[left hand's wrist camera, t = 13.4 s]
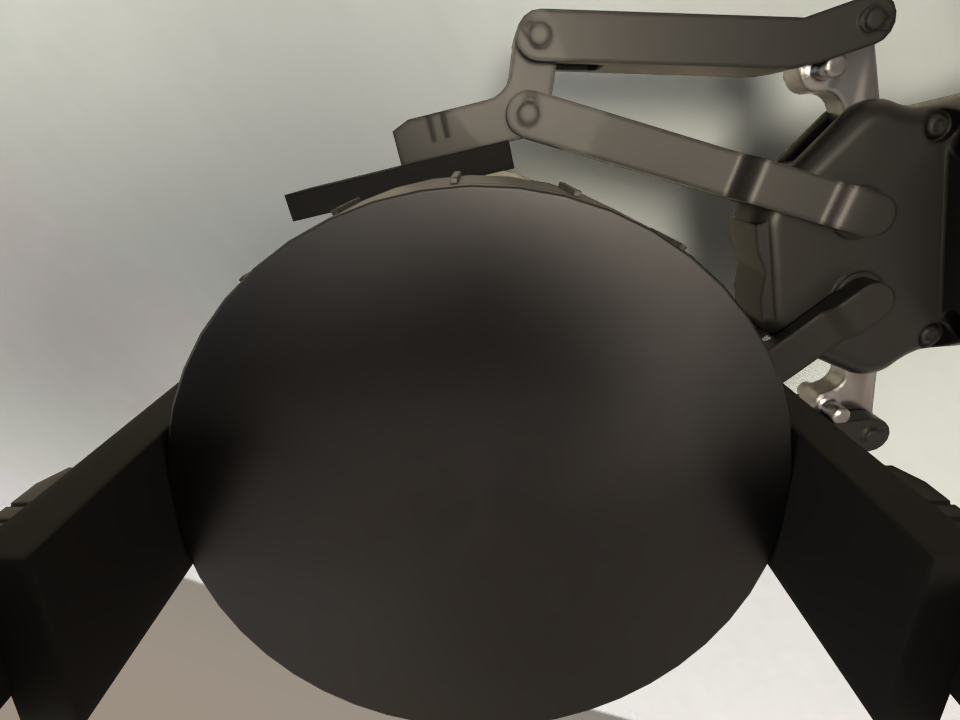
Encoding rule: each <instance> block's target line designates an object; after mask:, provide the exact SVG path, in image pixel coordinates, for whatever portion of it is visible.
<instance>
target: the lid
mask: <svg viewBox="0 0 960 720" xmlns="http://www.w3.org/2000/svg"><path fill="white" fill-rule="evenodd" d="M331 212H332V214H333V216H332V217H330V218H328V219H326V220H324V221H323V222H321V223H319V224H317V225H316V226H314V227H312V228H310V229H309V230H307V231H305V232H303V233H302V234H300V235H298V236H296V237H295V238H293V239H291V240H289V241H288V242H287V243H285V244H284V245H283V246H281V247H280V248H279V249H278V250H276V251H275V252H274V253H272V254H271V255H270V256H269V257H267V258H266V259H265V260H263V261H262V262H261V263H260V264H258V265H257V266H256V267H254V268H253V269H252V270H251V271H250V272H249V273H247V274H245V275H243V276H242V277H241V278H240V279H239V281H240V283H239V284H238V285H237V286H236V287H235V288H234V289H233V290H232V291H231V293H230V294H229V295H228V296H227V297H226V298H225V299H224V300H223V302H222V303H221V304H220V306H219V307H218V309H217V310H216V312H215V313H214V315H213V316H212V317H211V319H210V320H209V322H208V323H207V325H206V326H205V328H204V329H203V330H202V332H201V333H200V335H199V337H198V340H197V342H196V344H195V346H194V348H193V350H192V352H191V354H190V356H189V358H188V360H187V362H186V364H185V366H184V368H183V372H182V375H181V378H180V382H179V385H178V388H177V392H176V395H175V398H174V401H173V405H172V412H171V419H170V426H169V434H168V441H167V456H168V480H169V485H170V489H171V494H172V499H173V504H174V509H175V514H176V518H177V522H178V526H179V531H180V534H181V537H182V540H183V543H184V546H185V548H186V550H187V552H188V554H189V556H190V558H191V560H192V562H193V564H194V566H195V568H196V570H197V573H198V575H199V577H200V578H201V580H202V581H203V583H204V584H205V586H206V587H207V589H208V590H209V592H210V593H211V595H212V596H213V598H214V599H215V601H216V602H217V604H218V605H219V606H220V608H221V609H222V610H223V611H224V612H225V613H226V615H227V616H228V617H229V618H230V619H231V620H232V621H233V623H234V624H235V625H236V626H237V627H238V628H239V630H240V631H241V632H242V633H243V634H245V635H246V636H247V637H248V638H249V639H250V640H251V641H252V642H253V643H254V644H256V645H257V646H258V647H259V648H260V649H261V650H262V651H263V652H264V653H265V654H267V655H268V656H269V657H271V658H272V659H274V660H275V661H276V662H278V663H279V664H281V665H282V666H283V667H285V668H286V669H288V670H289V671H290V672H292V673H293V674H295V675H297V676H298V677H300V678H302V679H303V680H305V681H307V682H309V683H310V684H312V685H314V686H316V687H318V688H319V689H321V690H323V691H325V692H327V693H330V694H332V695H334V696H336V697H339V698H341V699H343V700H346V701H348V702H350V703H353V704H355V705H358V706H361V707H364V708H367V709H370V710H373V711H377V712H380V713H383V714H386V715H390V716H395V717H399V718H404V719H408V720H553V719H558V718H561V717H565V716H569V715H573V714H576V713H580V712H584V711H588V710H590V709H593V708H596V707H599V706H601V705H604V704H607V703H609V702H612V701H615V700H617V699H620V698H622V697H624V696H626V695H628V694H630V693H632V692H634V691H636V690H638V689H640V688H642V687H644V686H646V685H648V684H650V683H652V682H653V681H655V680H657V679H658V678H660V677H661V676H663V675H664V674H666V673H668V672H669V671H671V670H672V669H674V668H676V667H677V666H679V665H680V664H681V663H682V662H684V661H685V660H686V659H687V658H689V657H690V656H691V655H692V654H694V653H695V652H696V651H697V650H699V649H700V648H701V647H702V646H704V645H705V644H706V643H707V642H708V641H709V640H710V639H711V638H712V637H713V636H714V635H715V634H716V633H717V632H718V631H719V630H720V629H721V628H722V627H723V626H724V625H725V624H726V623H727V622H728V621H729V620H730V619H731V617H732V616H733V615H734V613H735V612H736V611H737V609H738V608H739V607H740V606H741V604H742V603H743V602H744V600H745V599H746V598H747V597H748V595H749V594H750V593H751V591H752V589H753V587H754V586H755V584H756V582H757V581H758V579H759V577H760V575H761V574H762V572H763V570H764V569H765V567H766V565H767V563H768V561H769V559H770V556H771V554H772V551H773V549H774V547H775V544H776V542H777V539H778V537H779V535H780V532H781V528H782V523H783V519H784V514H785V510H786V505H787V501H788V496H789V491H790V485H791V477H792V467H793V453H792V433H791V423H790V418H789V413H788V408H787V404H786V399H785V394H784V389H783V386H782V384H781V381H780V379H779V376H778V373H777V371H776V368H775V365H774V363H773V360H772V358H771V355H770V352H769V351H768V349H767V347H766V345H765V344H764V342H763V340H762V338H761V337H760V335H759V333H758V331H757V330H756V328H755V326H754V324H753V323H752V321H751V319H750V318H749V316H748V315H747V314H746V313H745V311H744V310H743V309H742V308H741V306H740V305H739V304H738V303H737V301H736V300H735V299H734V298H733V296H732V295H731V294H730V293H729V291H728V290H727V289H726V288H725V286H724V285H723V284H722V283H721V282H720V281H719V280H718V279H716V278H715V277H714V276H713V275H712V274H711V273H710V272H709V271H708V270H707V269H706V268H704V267H703V266H702V265H701V264H700V263H699V262H698V261H697V260H696V259H695V258H694V257H693V256H691V255H690V254H689V253H687V252H686V251H685V249H686V248H687V247H686V246H685V245H683V244H682V243H680V242H678V241H676V240H674V239H672V238H670V237H668V236H666V235H664V234H662V233H660V232H659V231H657V230H655V229H653V228H649V227H647V226H645V225H643V224H641V223H639V222H638V221H636V220H634V219H632V218H630V217H628V216H626V215H624V214H622V213H620V212H618V211H616V210H614V209H612V208H610V207H608V206H606V205H604V204H602V203H600V202H598V201H596V200H594V199H592V198H590V197H588V196H585V195H583V194H581V191H579V190H577V189H575V188H573V187H571V186H569V185H568V184H566V183H563V182H559V186H555V185H552V184H549V183H544V182H538V181H533V180H527V179H521V178H516V177H510V176H483V175H467V176H461V171H455V172H454V173H453V175H452V176H451V177H447V178H437V179H430V180H426V181H422V182H418V183H414V184H409V185H405V186H401V187H397V188H394V189H391V190H389V191H386V192H384V193H381V194H379V195H376V196H373V197H371V198H368V199H366V200H363V201H361V199H360V197H358V198H356V199H354V200H352V201H350V202H348V203H345V204H343V205H341V206H339V207H337V208H335V209H333V210H331Z"/></svg>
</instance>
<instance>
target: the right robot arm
mask: <svg viewBox="0 0 960 720" xmlns="http://www.w3.org/2000/svg"><path fill="white" fill-rule="evenodd" d="M895 19H896V8H895V5H894V2H893V1H892V0H853V1H850V2H847V3H845V4H842V5H839V6H836V7H833V8H830V9H828V10H825V11H822V12H819V13H816V14H814V15H811V16H808V17H805V18H800V17H771V16H741V15H711V14H682V13H652V12H623V11H593V10H563V9H537V10H532V11H530V12H529V13H528V14H526V15H525V16H524V17H523V18H522V20H521V22H520V23H519V25H518V28H517V31H516V34H515V37H514V40H513V44H512V54H511V61H510V69H509V77H508V82H507V85H506V87H505V88H504V90H503V91H502V92H501V93H500V94H499V95H497V96H496V97H494V98H492V99H489V100H485V101H481V102H477V103H473V104H469V105H466V106H462V107H458V108H454V109H450V110H446V111H442V112H438V113H434V114H430V115H426V116H422V117H418V118H414V119H410V120H407V121H406V122H405V123H403V124H402V125H401V126H399V127H398V128H397V129H396V130H394V131H393V134H394V138H395V142H396V146H397V149H398V153H399V157H400V161H401V166H397V167H393V168H389V169H385V170H381V171H377V172H373V173H369V174H365V175H361V176H356V177H352V178H348V179H344V180H340V181H336V182H332V183H328V184H324V185H320V186H316V187H311V188H308V189H304V190H301V191H297V192H294V193H290V194H287V195H285V198H286V201H287V204H288V207H289V210H290V213H291V216H292V219H293V221H297V220H301V219H306V218H310V217H314V216H318V215H322V214H326V213H331V210H333V209H335V208H337V207H339V206H341V205H343V204H345V203H348V202H350V201H352V200H354V199H356V198H358V197H360V199H361V201H363V200H366V199H368V198H371V197H373V196H376V195H379V194H381V193H384V192H386V191H389V190H391V189H394V188H397V187H401V186H405V185H409V184H414V183H418V182H422V181H426V180H430V179H437V178H447V177H451V176H452V175H453V173H454V172H455V171H461V176H467V175H483V176H484V175H488V174H493V173H497V172H501V171H505V170H509V169H513V168H514V164H513V159H512V154H511V149H510V144H509V142H510V141H514V140H518V139H522V138H524V139H527V140H530V141H534V142H537V143H541V144H544V145H547V146H551V147H554V148H557V149H561V150H564V151H568V152H571V153H574V154H578V155H581V156H584V157H588V158H591V159H595V160H598V161H601V162H605V163H608V164H611V165H615V166H618V167H622V168H625V169H628V170H632V171H635V172H638V173H642V174H645V175H649V176H652V177H655V178H659V179H662V180H665V181H669V182H672V183H676V184H679V185H682V186H686V187H689V188H692V189H696V190H699V191H702V192H705V193H708V194H712V195H715V196H718V197H722V198H725V199H728V200H732V201H735V202H739V204H738V207H737V210H736V214H735V215H734V216H730V217H729V227H730V239H731V242H732V245H733V247H734V250H735V253H736V255H737V258H738V268H737V273H736V279H735V284H734V288H735V300H736V301H737V303H738V304H739V305H740V306H741V308H742V309H743V310H744V311H745V313H746V314H747V315H748V316H749V318H750V319H751V321H752V323H753V324H754V326H755V328H756V330H757V331H758V333H759V335H760V337H761V338H763V337H764V336H766V335H768V336H769V337H771V339H769V340H768V341H763V342H764V344H765V345H766V347H767V349H768V351H769V352H770V355H771V358H772V360H773V363H774V365H775V368H776V371H777V373H778V376H779V379H780V381H781V382H782V383H783V382H785V381H786V380H788V379H789V378H791V377H792V376H794V375H795V374H796V373H798V372H799V371H801V370H802V369H803V368H805V367H806V366H808V365H809V364H811V363H812V362H813V361H815V360H816V359H820V360H822V361H825V362H827V363H829V364H831V368H830V370H829V372H828V373H827V374H826V375H825V376H824V377H823V378H821V379H820V380H818V381H815V382H812V383H811V382H808V381H807V382H803V383H801V384H800V385H799V386H798V388H797V393H798V394H797V395H798V396H799V397H800V398H802V399H803V400H804V401H805V402H807V403H808V404H809V405H810V406H812V407H813V408H814V409H815V410H817V411H818V412H819V413H820V414H822V415H823V416H824V417H825V418H827V419H828V420H829V421H830V422H831V423H833V424H834V425H835V426H836V427H838V428H839V429H840V430H841V431H843V432H844V433H845V434H846V435H848V436H849V437H850V438H851V439H853V440H854V441H855V442H856V443H858V444H859V445H860V446H861V447H862V448H864V449H865V450H866V451H871V450H875V449H877V448H879V447H880V446H882V445H883V444H884V443H885V442H886V440H887V439H888V436H889V427H888V425H887V424H886V423H885V422H884V421H883V420H881V419H880V418H878V417H877V416H876V415H874V414H873V413H872V407H873V398H874V389H875V380H876V372H877V371H880V370H882V369H884V368H886V367H888V366H889V365H891V364H892V363H894V362H895V361H896V360H898V359H899V358H901V357H903V356H904V355H906V354H908V353H910V352H913V351H915V350H918V349H922V348H929V347H941V346H953V345H960V93H959V94H955V95H951V96H947V97H943V98H938V99H934V100H930V101H926V102H922V103H917V104H913V105H909V106H905V105H900V104H897V103H894V102H892V101H889V100H885V99H879V91H878V79H877V67H876V56H875V44H876V43H878V42H880V41H881V40H883V39H884V38H885V37H886V36H887V35H888V34H889V33H890V32H891V30H892V27H893V25H894V23H895ZM555 71H565V72H595V73H626V74H657V75H687V76H718V77H756V76H762V75H768V74H773V73H778V72H782V71H783V73H784V74H783V79H784V82H785V83H786V86H787V87H788V89H789V90H790V91H792V92H793V93H795V94H799V95H800V94H813V95H817V96H818V97H820V98H821V99H822V100H823V102H824V103H825V106H826V110H827V111H826V112H824V113H823V114H822V115H821V116H820V117H819V118H818V119H817V120H816V121H815V122H814V123H813V124H812V125H811V126H810V127H809V128H808V129H807V130H806V131H805V132H804V133H803V134H802V135H801V136H800V137H799V138H798V139H797V140H796V141H795V142H794V143H793V144H792V145H791V146H790V147H789V148H788V149H787V150H786V151H785V152H784V153H783V154H782V155H781V156H780V157H779V158H778V159H777V160H776V161H772V160H768V159H764V158H760V157H756V156H751V155H746V154H743V153H739V152H736V151H733V150H729V149H726V148H723V147H719V146H716V145H713V144H710V143H706V142H703V141H700V140H696V139H693V138H690V137H687V136H683V135H680V134H677V133H673V132H670V131H667V130H664V129H660V128H657V127H654V126H651V125H647V124H644V123H641V122H637V121H634V120H631V119H628V118H624V117H621V116H618V115H614V114H611V113H608V112H605V111H601V110H598V109H595V108H591V107H588V106H585V105H582V104H578V103H575V102H572V101H568V100H565V99H562V98H559V97H555V96H552V95H551V94H552V88H553V81H554V75H555Z"/></svg>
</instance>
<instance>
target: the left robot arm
mask: <svg viewBox="0 0 960 720" xmlns="http://www.w3.org/2000/svg"><path fill="white" fill-rule="evenodd" d="M781 384H782V386H783V389H784V394H785V399H786V404H787V408H788V413H789V418H790V423H791V433H792V453H793V467H792V477H791V485H790V491H789V496H788V501H787V505H786V510H785V514H784V519H783V523H782V528H781V532H780V535H779V537H778V539H777V542H776V544H775V547H774V549H773V551H772V554H771V556H770V559H769V561H768V563H767V564H768V565H769V567H770V568H771V570H772V571H773V573H774V574H775V576H776V577H777V579H778V580H779V581H780V583H781V584H782V586H783V587H784V589H785V590H786V592H787V593H788V595H789V596H790V598H791V599H792V601H793V602H794V604H795V605H796V607H797V608H798V610H799V611H800V613H801V614H802V615H803V617H804V618H805V620H806V621H807V623H808V624H809V626H810V627H811V629H812V630H813V632H814V633H815V635H816V636H817V638H818V639H819V641H820V642H821V644H822V645H823V647H824V648H825V649H826V651H827V652H828V654H829V655H830V657H831V658H832V660H833V661H834V663H835V664H836V666H837V667H838V669H839V670H840V672H841V673H842V675H843V676H844V678H845V679H846V681H847V682H848V684H849V685H850V686H851V688H852V689H853V691H854V692H855V694H856V695H857V697H858V698H859V700H860V701H861V703H862V704H863V706H864V707H865V709H866V710H867V712H868V713H869V715H870V716H871V718H872V719H873V720H940V718H941V716H942V713H943V711H944V708H945V705H946V703H947V700H948V697H949V695H950V694H951V695H952V696H953V698H954V699H955V700H956V701H957V702H958V703H959V705H960V508H959V507H957V506H956V505H951V504H950V500H948V499H947V498H946V497H944V496H943V495H942V494H940V493H939V492H938V491H937V490H935V489H934V488H933V487H931V486H930V485H929V484H927V483H926V482H925V481H923V480H921V479H919V478H917V477H914V476H912V475H910V474H908V473H906V472H904V471H902V470H900V469H898V468H896V467H894V466H885V465H884V464H882V463H881V462H880V461H879V460H877V459H876V458H875V457H874V456H872V455H871V454H870V453H869V452H867V451H866V450H865V449H864V448H862V447H861V446H860V445H859V444H858V443H856V442H855V441H854V440H853V439H851V438H850V437H849V436H848V435H846V434H845V433H844V432H843V431H841V430H840V429H839V428H838V427H836V426H835V425H834V424H833V423H831V422H830V421H829V420H828V419H827V418H825V417H824V416H823V415H822V414H820V413H819V412H818V411H817V410H815V409H814V408H813V407H812V406H810V405H809V404H808V403H807V402H805V401H804V400H803V399H802V398H800V397H799V396H798V395H797V394H796V393H794V392H793V391H792V390H791V389H789V388H788V387H787V386H786V385H784V384H783V383H782V382H781ZM178 385H179V382H178V383H177V384H176V385H175V386H174V387H172V388H171V389H170V390H169V391H167V392H166V393H165V394H164V395H162V396H161V397H160V398H159V399H157V400H156V401H155V402H154V403H152V404H151V405H150V406H149V407H147V408H146V409H145V410H144V411H143V412H141V413H140V414H139V415H138V416H136V417H135V418H134V419H133V420H131V421H130V422H129V423H128V424H126V425H125V426H124V427H123V428H121V429H120V430H119V431H118V432H117V433H115V434H114V435H113V436H112V437H110V438H109V439H108V440H107V441H105V442H104V443H103V444H102V445H100V446H99V447H98V448H97V449H95V450H94V451H93V452H92V453H90V454H89V455H88V456H87V457H86V458H84V459H83V460H82V461H81V462H79V463H78V464H77V465H76V466H74V467H73V468H67V469H65V470H63V471H61V472H59V473H57V474H55V475H53V476H51V477H49V478H47V479H45V480H43V481H41V482H39V483H37V484H35V485H34V486H33V487H31V488H30V489H29V490H27V491H26V492H25V493H24V494H22V495H21V496H20V497H18V498H17V499H16V500H15V501H13V502H12V503H11V507H5V508H4V509H3V510H2V511H0V708H1V707H2V706H3V705H4V704H5V702H6V701H7V700H8V699H9V698H10V697H11V696H12V699H13V701H14V704H15V707H16V709H17V712H18V715H19V717H20V720H88V718H89V717H90V715H91V714H92V712H93V711H94V709H95V708H96V706H97V705H98V703H99V702H100V700H101V699H102V697H103V696H104V694H105V693H106V691H107V690H108V688H109V687H110V685H111V684H112V683H113V681H114V680H115V678H116V677H117V675H118V674H119V672H120V671H121V669H122V668H123V666H124V665H125V663H126V662H127V660H128V659H129V657H130V656H131V654H132V653H133V652H134V650H135V649H136V647H137V646H138V644H139V643H140V641H141V640H142V638H143V637H144V635H145V634H146V632H147V631H148V629H149V628H150V626H151V625H152V623H153V622H154V620H155V619H156V618H157V616H158V615H159V613H160V612H161V610H162V609H163V607H164V606H165V604H166V603H167V601H168V600H169V598H170V597H171V595H172V594H173V592H174V591H175V589H176V588H177V586H178V585H179V583H180V582H181V581H182V579H183V578H184V576H185V575H186V573H187V572H188V570H189V569H190V567H191V566H192V564H193V562H192V560H191V558H190V556H189V554H188V552H187V550H186V548H185V546H184V543H183V540H182V537H181V534H180V531H179V526H178V522H177V518H176V514H175V509H174V504H173V499H172V494H171V489H170V485H169V480H168V456H167V441H168V434H169V426H170V419H171V412H172V405H173V401H174V398H175V395H176V392H177V388H178Z"/></svg>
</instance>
